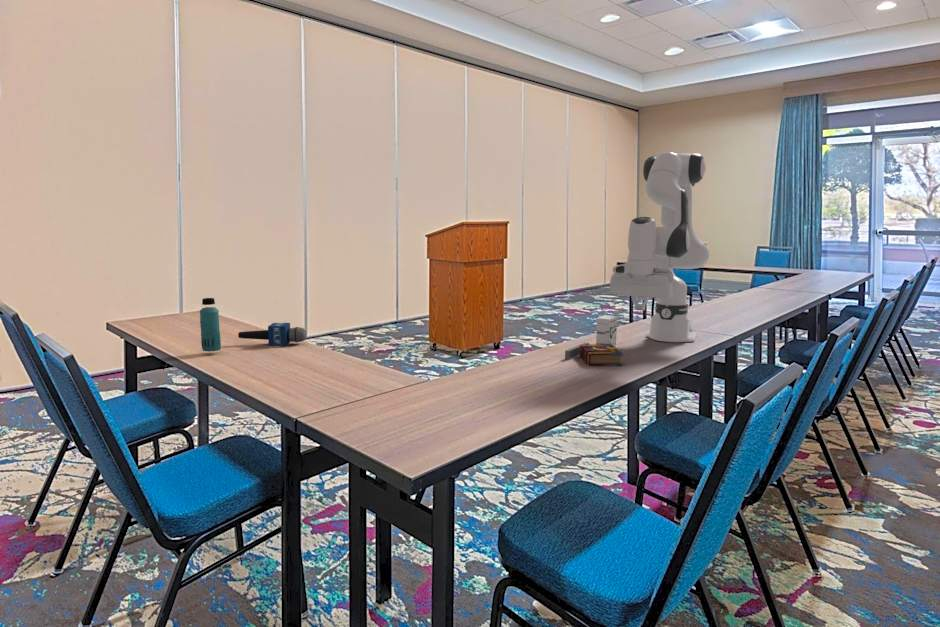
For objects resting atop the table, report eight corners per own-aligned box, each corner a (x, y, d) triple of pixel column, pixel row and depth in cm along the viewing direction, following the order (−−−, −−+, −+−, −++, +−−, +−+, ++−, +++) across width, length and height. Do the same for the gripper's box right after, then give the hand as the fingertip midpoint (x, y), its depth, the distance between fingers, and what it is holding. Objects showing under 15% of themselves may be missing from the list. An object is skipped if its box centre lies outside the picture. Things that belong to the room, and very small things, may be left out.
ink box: (608, 351, 227) (609, 319, 225) (595, 349, 230) (596, 317, 228) (616, 347, 234) (617, 315, 232) (603, 345, 237) (604, 314, 235)
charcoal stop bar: (584, 350, 228) (585, 342, 227) (588, 351, 227) (589, 343, 226) (565, 359, 215) (565, 350, 214) (568, 359, 214) (569, 351, 213)
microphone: (241, 323, 241) (307, 322, 242) (242, 342, 242) (308, 342, 243) (235, 326, 233) (303, 326, 234) (236, 347, 234) (304, 346, 236)
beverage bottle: (218, 351, 228) (215, 296, 224) (224, 354, 222) (220, 298, 219) (199, 353, 224) (195, 297, 220) (204, 356, 218) (201, 299, 215)
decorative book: (588, 366, 205) (588, 351, 204) (578, 355, 221) (578, 341, 220) (622, 366, 205) (623, 351, 205) (610, 355, 221) (610, 341, 220)
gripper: (676, 268, 200) (674, 311, 202) (615, 265, 212) (614, 305, 214) (670, 270, 195) (668, 314, 197) (608, 267, 206) (607, 308, 209)
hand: (639, 310), depth 206 cm, fingers closed
